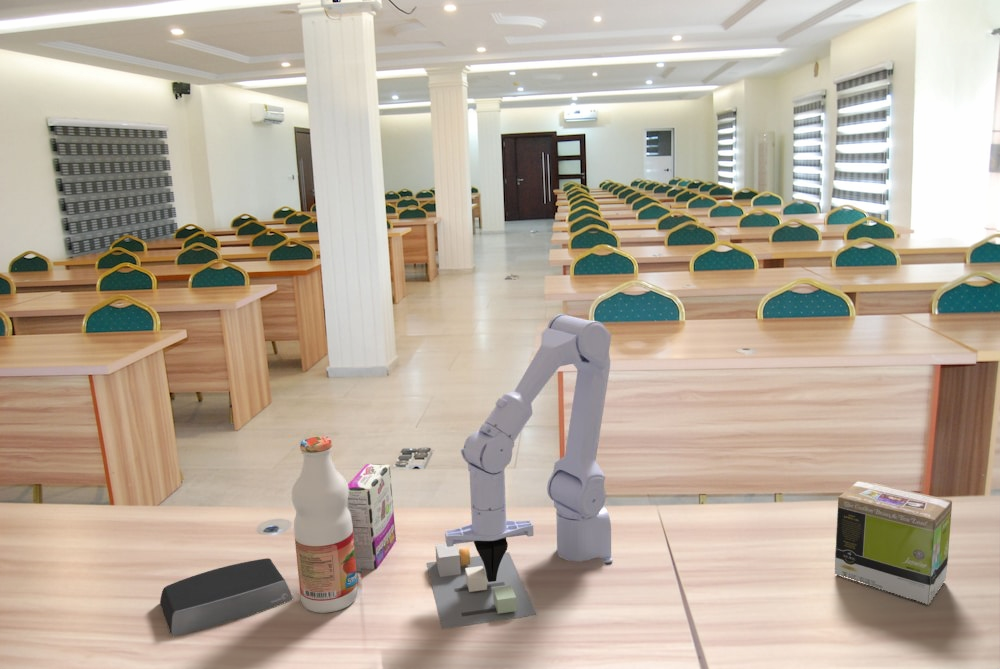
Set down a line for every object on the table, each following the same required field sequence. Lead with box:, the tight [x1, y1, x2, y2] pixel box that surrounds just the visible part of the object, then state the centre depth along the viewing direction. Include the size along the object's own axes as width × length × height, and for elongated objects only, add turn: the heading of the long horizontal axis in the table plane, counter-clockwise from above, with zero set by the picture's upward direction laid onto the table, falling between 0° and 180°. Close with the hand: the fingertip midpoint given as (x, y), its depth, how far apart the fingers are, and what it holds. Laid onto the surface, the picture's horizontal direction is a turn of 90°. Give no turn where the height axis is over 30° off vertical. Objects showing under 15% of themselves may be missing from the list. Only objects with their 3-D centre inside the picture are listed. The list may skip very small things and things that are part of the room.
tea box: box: [834, 479, 953, 605], centre depth 134 cm, size 15×10×15 cm, turn 47°
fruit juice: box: [291, 435, 359, 614], centre depth 132 cm, size 9×9×28 cm
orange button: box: [458, 547, 471, 566], centre depth 142 cm, size 2×3×3 cm, turn 11°
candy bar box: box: [347, 463, 397, 573], centre depth 146 cm, size 11×5×16 cm, turn 168°
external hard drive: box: [159, 557, 294, 638], centre depth 135 cm, size 13×19×4 cm
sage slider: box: [493, 586, 517, 614], centre depth 128 cm, size 3×4×2 cm
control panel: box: [426, 542, 538, 630], centre depth 135 cm, size 15×21×5 cm
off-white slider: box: [465, 566, 487, 592], centre depth 135 cm, size 3×4×2 cm
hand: (491, 578), depth 135 cm, fingers closed
